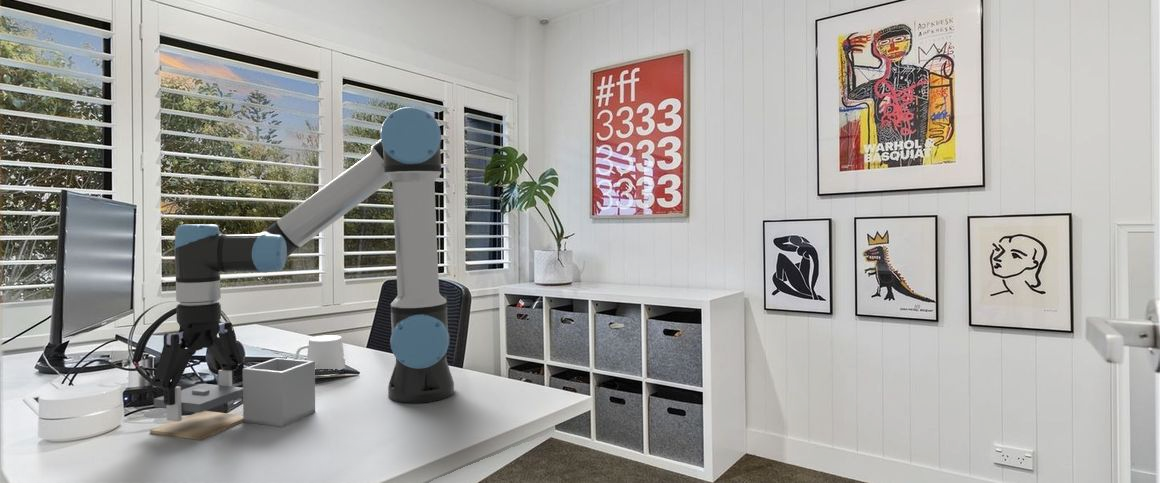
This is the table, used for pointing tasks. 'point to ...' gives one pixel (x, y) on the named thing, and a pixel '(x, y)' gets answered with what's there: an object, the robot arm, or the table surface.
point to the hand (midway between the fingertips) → (201, 410)
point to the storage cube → (278, 391)
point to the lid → (204, 397)
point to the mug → (325, 352)
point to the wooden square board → (199, 425)
